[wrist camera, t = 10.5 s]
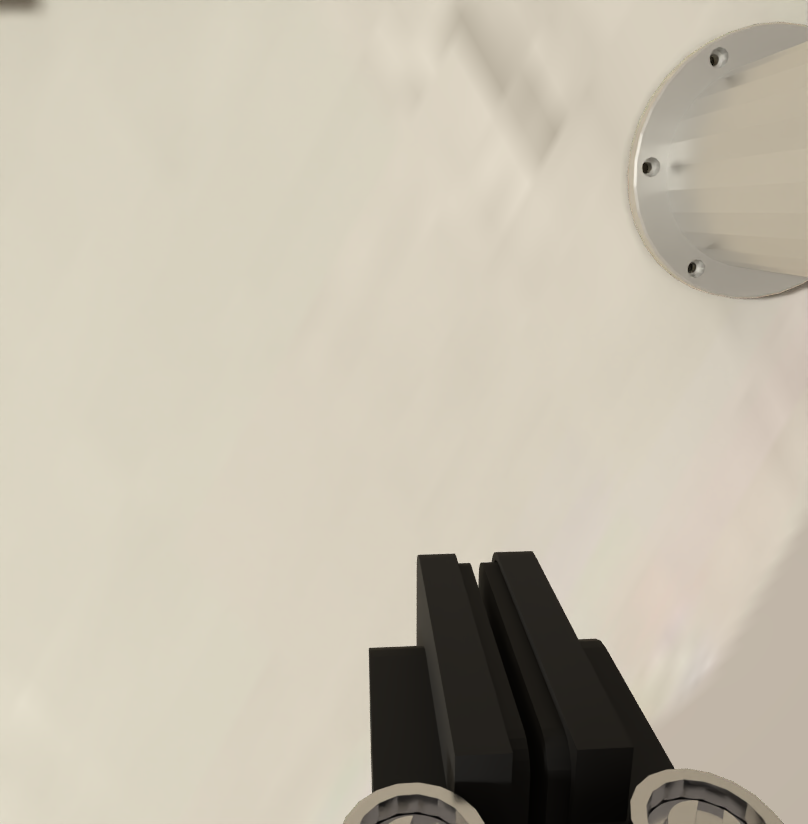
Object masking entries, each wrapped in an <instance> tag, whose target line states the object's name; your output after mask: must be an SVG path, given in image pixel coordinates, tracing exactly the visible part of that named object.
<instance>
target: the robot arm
mask: <svg viewBox="0 0 808 824" xmlns="http://www.w3.org/2000/svg"><path fill="white" fill-rule="evenodd" d="M710 56H712V57H713V58H714V65H713V66H712V65H711V63H710ZM643 163H646V164H647V165H648V171H647V172H646V173H643V171H642V165H643ZM627 178H628V196H629V203H630V207H631V212H632V216H633V220H634V224H635V226H636V228H637V230H638V232H639V235H640V237H641V239H642V241H643V243H644V245H645V247H646V248H647V249H648V251H649V252H650V253H651V255H652V256H653V257H654V259H655V260H656V261H657V263H658V264H659V265H660V266H662V267H663V268H664V269H665V270H666V271H667V272H668V273H669V274H671V275H672V276H673V277H674V278H676V279H677V280H679V281H681V282H683V283H684V284H686V285H688V286H690V287H692V288H693V289H697V290H700V291H703V292H706V293H709V294H713V295H718V296H723V297H729V298H760V297H764V296H769V295H774V294H779V293H782V292H784V291H787V290H789V289H792V288H794V287H797V286H799V285H802V284H803V283H805V282H807V281H808V26H807V25H801V24H793V23H785V22H774V23H763V24H754V25H751V26H748V27H745V28H741V29H738V30H735V31H732V32H729V33H727V34H725V35H723V36H721V37H718V38H716V39H714V40H712V41H710V42H708V43H707V44H705V45H704V46H702V47H701V48H699V49H698V50H696V51H695V52H693V53H692V54H690V55H689V56H687V57H686V58H685V59H684V60H683V61H682V62H681V63H680V64H679V65H678V66H677V67H676V68H675V69H674V70H673V71H672V72H671V73H669V74H668V75H667V77H666V78H665V79H664V81H663V82H662V83H661V85H660V86H659V87H658V89H657V90H656V92H655V93H654V94H653V96H652V97H651V98H650V100H649V102H648V104H647V106H646V109H645V111H644V113H643V115H642V117H641V119H640V121H639V123H638V126H637V129H636V132H635V136H634V139H633V142H632V145H631V149H630V157H629V165H628V173H627ZM690 263H692V270H691V271H690V272H688V266H689V264H690ZM369 678H370V728H371V768H372V794H370V795H369V796H367V797H366V798H364V799H362V800H361V801H359V802H358V803H357V805H356V806H355V807H354V808H353V809H352V810H351V812H350V813H349V814H348V815H347V816H346V818H345V820H344V822H343V824H784V823H783V822H782V821H781V820H780V819H779V818H778V817H777V815H776V814H775V813H774V812H773V811H772V810H771V809H770V808H769V807H768V806H766V805H765V804H764V803H763V802H762V801H761V800H760V799H759V798H758V797H757V796H756V795H754V794H753V793H751V792H749V791H748V790H746V789H744V788H743V787H741V786H739V785H738V784H736V783H734V782H732V781H730V780H728V779H725V778H722V777H720V776H717V775H714V774H712V773H709V772H703V771H697V770H692V769H674V767H673V765H672V763H671V762H670V760H669V758H668V756H667V755H666V753H665V751H664V749H663V748H662V746H661V744H660V742H659V741H658V739H657V737H656V735H655V734H654V732H653V730H652V728H651V727H650V725H649V723H648V721H647V719H646V718H645V716H644V714H643V712H642V711H641V709H640V707H639V705H638V704H637V702H636V700H635V698H634V697H633V695H632V693H631V691H630V690H629V688H628V686H627V684H626V683H625V681H624V679H623V677H622V676H621V674H620V672H619V670H618V669H617V667H616V665H615V663H614V661H613V660H612V658H611V656H610V654H609V653H608V651H607V649H606V647H605V646H604V645H603V643H602V642H601V641H600V640H597V639H579V640H578V638H577V636H576V634H575V632H574V630H573V628H572V626H571V624H570V622H569V620H568V619H567V617H566V615H565V613H564V611H563V609H562V607H561V605H560V603H559V601H558V599H557V597H556V595H555V593H554V591H553V589H552V588H551V586H550V584H549V582H548V580H547V578H546V576H545V574H544V572H543V570H542V568H541V566H540V564H539V562H538V560H537V558H536V557H535V555H534V553H533V552H532V551H524V552H494V554H493V558H492V562H488V563H481V564H480V567H479V588H478V585H477V582H476V579H475V576H474V573H473V570H472V567H471V564H470V563H459V564H458V561H457V557H456V555H455V554H433V555H418V557H417V646H407V647H382V648H369Z"/></svg>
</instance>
